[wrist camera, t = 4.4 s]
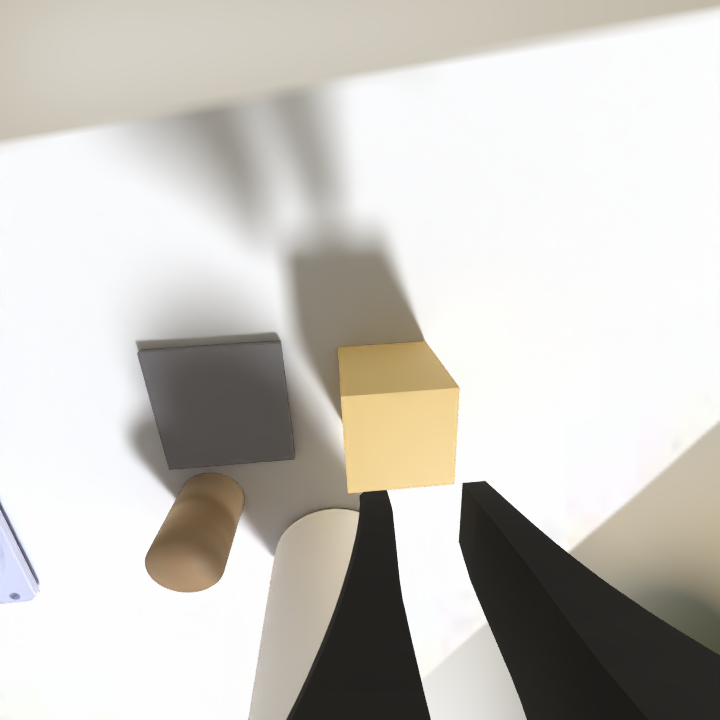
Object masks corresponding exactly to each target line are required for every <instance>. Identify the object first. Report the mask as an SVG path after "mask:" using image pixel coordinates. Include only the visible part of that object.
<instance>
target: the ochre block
mask: <svg viewBox="0 0 720 720" xmlns="http://www.w3.org/2000/svg"><path fill="white" fill-rule="evenodd" d="M338 359H339V376H340V394H341V408H342V421H343V435H344V449H345V462H346V476H347V490H348V493H359V492H368V491H379V490H393V489H404V488H415V487H427V486H438V485H449V484H454V480H455V461H456V443H457V424H458V405H459V386H458V385H457V384H456V382H455V381H454V380H453V378H452V377H451V376H450V374H449V373H448V371H447V370H446V369H445V367H444V366H443V365H442V363H441V362H440V361H439V359H438V358H437V356H436V355H435V354H434V352H433V351H432V350H431V348H430V347H429V346H428V344H427V343H426V341H419V342H404V343H390V344H375V345H361V346H347V347H338Z"/></svg>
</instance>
